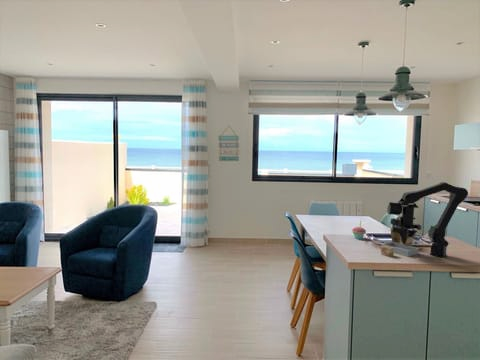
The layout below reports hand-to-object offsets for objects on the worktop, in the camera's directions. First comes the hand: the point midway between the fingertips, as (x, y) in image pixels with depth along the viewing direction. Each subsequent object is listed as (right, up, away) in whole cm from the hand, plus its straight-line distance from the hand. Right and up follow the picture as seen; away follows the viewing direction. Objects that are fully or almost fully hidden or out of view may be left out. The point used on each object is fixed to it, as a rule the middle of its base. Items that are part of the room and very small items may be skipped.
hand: (406, 243), depth 185 cm
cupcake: (-15, -3, +32) cm, 35 cm away
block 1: (-13, -6, -4) cm, 15 cm away
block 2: (0, -1, 0) cm, 1 cm away
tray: (-2, -5, +3) cm, 7 cm away
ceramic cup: (+4, -5, +18) cm, 19 cm away
